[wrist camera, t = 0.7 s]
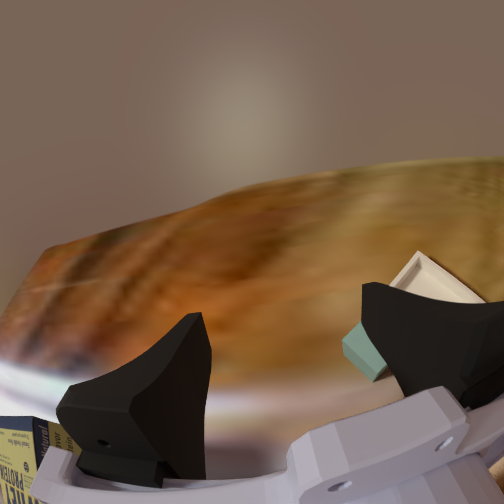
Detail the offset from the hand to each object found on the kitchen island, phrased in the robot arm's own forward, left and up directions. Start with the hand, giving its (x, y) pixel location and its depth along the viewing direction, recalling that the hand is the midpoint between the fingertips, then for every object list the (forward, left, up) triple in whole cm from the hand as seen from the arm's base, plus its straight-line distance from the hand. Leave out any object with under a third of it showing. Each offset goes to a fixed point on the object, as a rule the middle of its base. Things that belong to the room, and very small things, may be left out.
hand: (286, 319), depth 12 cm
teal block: (-2, -5, -15) cm, 16 cm away
